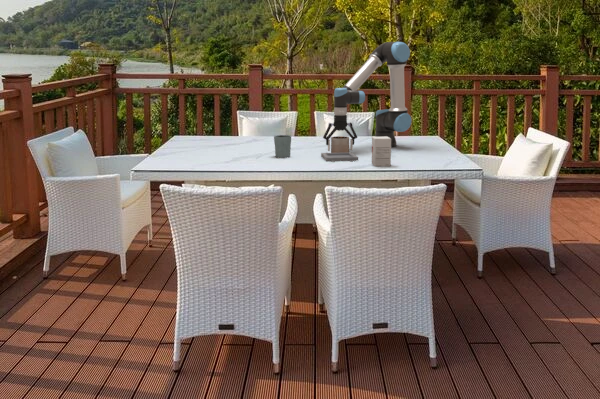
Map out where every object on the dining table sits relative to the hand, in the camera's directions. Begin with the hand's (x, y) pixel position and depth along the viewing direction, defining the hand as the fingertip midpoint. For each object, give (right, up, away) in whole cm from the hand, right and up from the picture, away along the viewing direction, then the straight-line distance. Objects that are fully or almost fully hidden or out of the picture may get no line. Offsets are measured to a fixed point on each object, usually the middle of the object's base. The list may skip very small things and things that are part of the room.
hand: (340, 150), depth 428 cm
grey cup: (-34, -4, -11) cm, 36 cm away
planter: (0, -2, 0) cm, 2 cm away
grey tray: (-1, -6, -20) cm, 21 cm away
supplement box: (+20, -11, -40) cm, 46 cm away
